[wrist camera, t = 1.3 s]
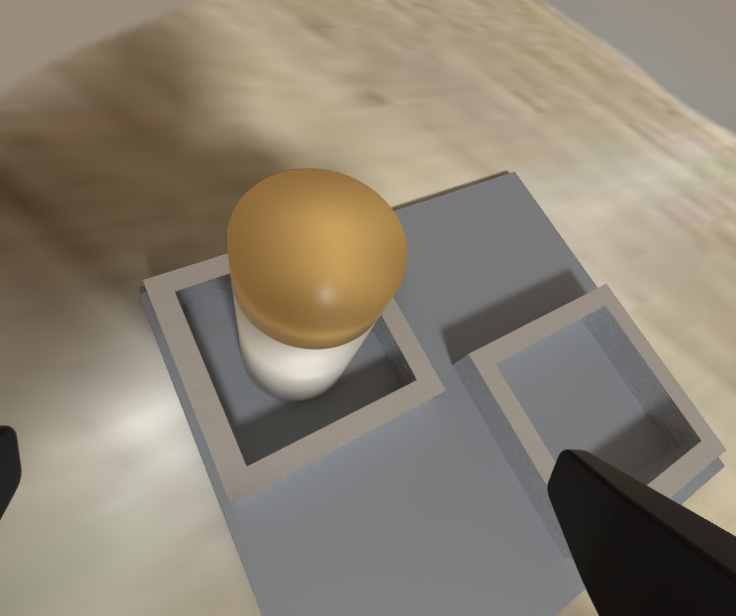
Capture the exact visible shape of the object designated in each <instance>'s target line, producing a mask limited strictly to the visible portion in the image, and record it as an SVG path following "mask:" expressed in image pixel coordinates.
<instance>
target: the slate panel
mask: <svg viewBox="0 0 736 616" xmlns="http://www.w3.org/2000/svg"><path fill="white" fill-rule="evenodd" d="M394 213H395V214H396V216H397V217H398V219H399V221H400V223H401V225H402V228H403V231H404V233H405V237H406V242H407V250H408V258H407V266H406V271H405V275H404V277H403V280H402V282H401V284H400V286H399V288H398V289H397V291H396V293H395V294H394V296H393V298H394V299H395V301H396V303H397V305H398V306H399V308H400V310H401V312H402V314H403V315H404V317H405V319H406V321H407V322H408V324H409V326H410V328H411V329H412V331H413V333H414V335H415V337H416V338H417V340H418V342H419V344H420V345H421V347H422V349H423V351H424V352H425V354H426V356H427V358H428V360H429V361H430V363H431V365H432V367H433V368H434V370H435V372H436V374H437V376H438V377H439V379H440V381H441V383H442V384H443V386H444V388H445V390H446V391H444V392H443V393H441V394H439V395H437V396H436V397H434V398H432V399H430V400H429V401H427V402H425V403H423V404H421V405H419V406H417V407H415V408H414V409H412V410H410V411H408V412H406V413H404V414H402V415H401V416H399V417H397V418H395V419H393V420H391V421H389V422H388V423H386V424H384V425H382V426H380V427H378V428H376V429H374V430H373V431H371V432H369V433H367V434H365V435H363V436H361V437H360V438H358V439H356V440H354V441H352V442H350V443H348V444H346V445H345V446H343V447H341V448H339V449H337V450H335V451H333V452H332V453H330V454H328V455H326V456H324V457H322V458H320V459H318V460H317V461H315V462H313V463H311V464H309V465H307V466H305V467H304V468H302V469H300V470H298V471H296V472H294V473H292V474H290V475H289V476H287V477H285V478H283V479H281V480H279V481H277V482H276V483H274V484H272V485H270V486H268V487H266V488H264V489H263V490H261V491H259V492H257V493H255V494H253V495H251V496H249V497H248V498H246V499H244V500H242V501H240V502H238V503H236V504H235V505H231V504H230V502H229V499H228V496H227V494H226V491H225V489H224V486H223V484H222V481H221V479H220V476H219V473H218V471H217V468H216V466H215V463H214V461H213V458H212V456H211V453H210V450H209V448H208V445H207V443H206V440H205V438H204V435H203V433H202V430H201V428H200V425H199V422H198V420H197V417H196V415H195V412H194V410H193V407H192V405H191V402H190V399H189V397H188V394H187V392H186V389H185V387H184V384H183V382H182V379H181V377H180V374H179V371H178V369H177V366H176V364H175V361H174V359H173V356H172V354H171V351H170V348H169V346H168V343H167V341H166V338H165V336H164V333H163V331H162V328H161V326H160V323H159V320H158V318H157V315H156V313H155V310H154V308H153V305H152V303H151V300H150V297H149V295H148V292H147V291H146V292H143V293H139V297H140V299H141V302H142V304H143V307H144V310H145V312H146V315H147V317H148V320H149V323H150V325H151V328H152V330H153V333H154V336H155V338H156V341H157V343H158V346H159V349H160V351H161V354H162V356H163V359H164V362H165V364H166V367H167V369H168V372H169V375H170V377H171V380H172V382H173V385H174V388H175V390H176V393H177V395H178V398H179V401H180V403H181V406H182V408H183V411H184V414H185V416H186V419H187V421H188V424H189V426H190V429H191V432H192V434H193V437H194V439H195V442H196V445H197V447H198V450H199V452H200V455H201V458H202V460H203V463H204V465H205V468H206V471H207V473H208V476H209V478H210V481H211V484H212V486H213V489H214V491H215V494H216V497H217V499H218V502H219V504H220V507H221V510H222V512H223V515H224V517H225V520H226V523H227V525H228V528H229V530H230V533H231V536H232V538H233V541H234V543H235V546H236V549H237V551H238V554H239V556H240V559H241V561H242V564H243V567H244V569H245V572H246V574H247V577H248V580H249V582H250V585H251V587H252V590H253V593H254V595H255V598H256V600H257V603H258V606H259V608H260V611H261V613H262V616H555V615H556V614H557V613H558V612H559V611H561V610H562V609H563V608H564V607H565V606H566V605H567V604H569V603H570V602H571V601H572V600H573V599H574V598H575V597H577V596H578V595H579V594H580V593H581V592H582V591H583V590H584V589H586V588H585V586H584V584H583V582H582V580H581V577H580V575H579V572H578V570H577V568H576V565H575V563H574V560H572V559H567V558H563V556H562V555H561V553H560V551H559V549H558V548H557V546H556V544H555V542H554V541H553V539H552V537H551V536H550V534H549V532H548V530H547V529H546V527H545V525H544V523H543V522H542V520H541V518H540V517H539V515H538V513H537V511H536V510H535V508H534V506H533V504H532V503H531V501H530V499H529V498H528V496H527V494H526V492H525V491H524V489H523V487H522V485H521V484H520V482H519V480H518V478H517V477H516V475H515V473H514V472H513V470H512V468H511V466H510V465H509V463H508V461H507V459H506V458H505V456H504V454H503V453H502V451H501V449H500V447H499V446H498V444H497V442H496V440H495V439H494V437H493V435H492V434H491V432H490V430H489V428H488V427H487V425H486V423H485V421H484V420H483V418H482V416H481V414H480V413H479V411H478V409H477V408H476V406H475V404H474V402H473V401H472V399H471V397H470V395H469V394H468V392H467V390H466V389H465V387H464V385H463V383H462V382H461V380H460V378H459V376H458V375H457V373H456V371H455V370H454V368H453V366H452V365H453V364H455V363H456V362H458V361H459V360H460V359H462V358H463V357H465V356H466V355H468V354H469V353H471V352H473V351H475V350H477V349H479V348H481V347H483V346H485V345H487V344H489V343H491V342H493V341H495V340H497V339H499V338H501V337H503V336H505V335H507V334H509V333H511V332H513V331H515V330H517V329H519V328H520V327H522V326H524V325H526V324H528V323H530V322H532V321H534V320H536V319H538V318H540V317H542V316H544V315H546V314H548V313H550V312H552V311H554V310H556V309H558V308H560V307H562V306H564V305H566V304H568V303H570V302H572V301H574V300H576V299H578V298H579V297H581V296H583V295H585V294H587V293H589V292H591V291H593V290H595V289H597V286H596V285H595V283H594V282H593V281H592V279H591V278H590V276H589V275H588V274H587V272H586V271H585V269H584V268H583V267H582V265H581V264H580V262H579V261H578V260H577V258H576V257H575V255H574V254H573V253H572V251H571V250H570V248H569V247H568V246H567V244H566V243H565V241H564V240H563V239H562V237H561V236H560V234H559V233H558V232H557V230H556V229H555V227H554V226H553V225H552V223H551V222H550V220H549V219H548V218H547V216H546V215H545V213H544V212H543V211H542V209H541V208H540V206H539V205H538V204H537V202H536V201H535V199H534V198H533V197H532V195H531V194H530V192H529V191H528V190H527V188H526V187H525V185H524V184H523V183H522V181H521V180H520V178H519V177H518V176H517V174H516V173H515V172H512V173H509V174H506V175H503V176H500V177H497V178H493V179H490V180H487V181H484V182H481V183H478V184H475V185H472V186H469V187H466V188H463V189H460V190H457V191H453V192H450V193H447V194H444V195H441V196H438V197H435V198H432V199H429V200H426V201H423V202H420V203H417V204H413V205H410V206H407V207H404V208H401V209H398V210H395V211H394ZM183 313H184V315H185V318H186V320H187V323H188V325H189V327H190V330H191V332H192V335H193V337H194V340H195V342H196V345H197V347H198V349H199V352H200V354H201V357H202V359H203V362H204V364H205V366H206V369H207V371H208V374H209V376H210V379H211V381H212V383H213V386H214V388H215V391H216V393H217V396H218V398H219V400H220V403H221V405H222V408H223V410H224V413H225V415H226V417H227V420H228V422H229V425H230V427H231V430H232V432H233V434H234V437H235V439H236V442H237V444H238V447H239V449H240V451H241V454H242V456H243V459H244V461H245V464H246V466H249V465H251V464H253V463H255V462H257V461H259V460H261V459H263V458H265V457H267V456H269V455H271V454H273V453H275V452H277V451H279V450H281V449H282V448H284V447H286V446H288V445H290V444H292V443H294V442H296V441H298V440H300V439H302V438H304V437H306V436H308V435H310V434H312V433H314V432H316V431H318V430H320V429H322V428H324V427H326V426H328V425H330V424H332V423H334V422H336V421H338V420H340V419H341V418H343V417H345V416H347V415H349V414H351V413H353V412H355V411H357V410H359V409H361V408H363V407H365V406H367V405H369V404H371V403H373V402H375V401H377V400H379V399H381V398H383V397H385V396H387V395H389V394H391V393H393V392H395V391H397V390H399V389H400V388H402V385H401V383H400V381H399V379H398V378H397V376H396V374H395V372H394V370H393V368H392V366H391V365H390V363H389V361H388V359H387V357H386V355H385V353H384V352H383V350H382V348H381V346H380V344H379V342H378V340H377V338H376V337H375V335H374V333H373V331H372V329H371V331H370V332H369V334H368V335H367V337H366V338H365V340H364V341H363V343H362V344H361V346H360V347H359V349H358V351H357V352H356V354H355V355H354V357H353V358H352V360H351V361H350V363H349V364H348V366H347V367H346V369H345V370H344V372H343V373H342V375H341V376H340V378H339V379H338V381H337V382H336V383H335V385H334V386H333V387H332V388H331V389H330V390H328V391H327V392H326V393H324V394H323V395H321V396H319V397H317V398H315V399H312V400H309V401H305V402H298V403H293V402H283V401H279V400H276V399H274V398H271V397H269V396H267V395H266V394H264V393H263V392H261V391H260V390H259V389H258V388H257V387H256V386H255V385H254V384H253V383H252V382H251V380H250V379H249V377H248V375H247V374H246V372H245V369H244V366H243V362H242V356H241V348H240V341H239V334H238V326H237V319H236V312H235V305H234V297H233V292H231V293H228V294H225V295H223V296H220V297H217V298H214V299H211V300H208V301H205V302H203V303H200V304H197V305H194V306H191V307H188V308H185V309H183ZM496 365H497V367H498V369H499V370H500V372H501V374H502V375H503V377H504V379H505V380H506V382H507V384H508V385H509V387H510V388H511V390H512V392H513V393H514V395H515V397H516V398H517V400H518V402H519V403H520V405H521V407H522V408H523V410H524V411H525V413H526V415H527V416H528V418H529V420H530V421H531V423H532V425H533V426H534V428H535V430H536V431H537V433H538V435H539V436H540V438H541V439H542V441H543V443H544V444H545V446H546V448H547V449H548V451H549V453H550V454H551V456H552V458H553V459H554V461H555V462H556V461H557V458H558V456H559V454H560V453H561V452H562V451H563V450H565V449H579V450H585V451H588V452H590V453H591V454H593V455H595V456H597V457H598V458H600V459H602V460H604V461H605V462H607V463H609V464H611V465H612V466H614V467H616V468H618V469H619V470H621V471H623V472H624V473H626V474H628V475H630V474H632V473H633V472H634V471H636V470H637V469H638V468H639V467H641V466H642V465H643V464H645V463H646V462H647V461H648V460H650V459H651V458H652V457H653V456H655V455H656V454H657V453H659V452H660V451H661V450H662V449H664V448H665V447H666V446H668V444H667V443H666V441H665V440H664V438H663V437H662V436H661V434H660V433H659V431H658V430H657V428H656V427H655V425H654V424H653V422H652V421H651V420H650V418H649V417H648V415H647V414H646V412H645V411H644V409H643V408H642V406H641V405H640V404H639V402H638V401H637V399H636V398H635V396H634V395H633V393H632V392H631V390H630V389H629V388H628V386H627V385H626V383H625V382H624V380H623V379H622V377H621V376H620V374H619V373H618V372H617V370H616V369H615V367H614V366H613V364H612V363H611V361H610V360H609V358H608V357H607V356H606V354H605V353H604V351H603V350H602V348H601V347H600V345H599V344H598V342H597V341H596V340H595V338H594V337H593V335H592V334H591V332H590V331H589V329H588V328H587V326H586V325H585V323H584V322H583V321H582V319H580V320H578V321H576V322H574V323H572V324H570V325H568V326H567V327H565V328H563V329H561V330H559V331H557V332H555V333H554V334H552V335H550V336H548V337H546V338H544V339H542V340H540V341H539V342H537V343H535V344H533V345H531V346H529V347H527V348H526V349H524V350H522V351H520V352H518V353H516V354H514V355H512V356H511V357H509V358H507V359H505V360H503V361H501V362H499V363H498V364H496ZM723 467H724V464H723V463H722V461H721V460H720V459H719V457H717V458H716V459H715V460H714V461H713V462H712V463H710V464H709V465H708V466H707V467H706V468H705V469H703V470H702V471H701V472H700V473H699V474H698V475H696V476H695V477H694V478H693V479H692V480H691V481H689V482H688V483H687V484H686V485H685V486H684V487H682V488H681V489H680V490H679V491H678V492H677V493H675V494H674V495H673V496H672V497H671V498H670V499H671V500H673V501H675V502H677V503H678V504H680V505H681V504H682V503H683V502H685V501H686V500H687V499H688V498H689V497H690V496H691V495H693V494H694V493H695V492H696V491H697V490H698V489H699V488H701V487H702V486H703V485H704V484H705V483H706V482H707V481H709V480H710V479H711V478H712V477H713V476H714V475H715V474H716V473H718V472H719V471H720V470H721V469H722V468H723Z"/></svg>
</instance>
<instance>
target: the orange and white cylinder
mask: <svg viewBox="0 0 736 616" xmlns="http://www.w3.org/2000/svg"><path fill="white" fill-rule="evenodd" d="M226 243H227V254H228V261H229V268H230V276H231V283H232V290H233V297H234V305H235V312H236V319H237V326H238V334H239V341H240V348H241V356H242V362H243V366H244V369H245V372H246V374H247V375H248V377H249V379H250V380H251V382H252V383H253V384H254V385H255V386H256V387H257V388H258V389H259V390H260V391H261V392H263V393H264V394H266V395H267V396H269V397H271V398H274V399H276V400H279V401H283V402H293V403H298V402H305V401H309V400H312V399H315V398H317V397H319V396H321V395H323V394H324V393H326V392H327V391H328V390H330V389H331V388H332V387H333V386H334V385H335V383H336V382H337V381H338V379H339V378H340V376H341V375H342V373H343V372H344V370H345V369H346V367H347V366H348V364H349V363H350V361H351V360H352V358H353V357H354V355H355V354H356V352H357V351H358V349H359V347H360V346H361V344H362V343H363V341H364V340H365V338H366V337H367V335H368V334H369V332H370V331H371V329H372V328H373V326H374V325H375V323H376V322H377V320H378V319H379V317H380V316H381V314H382V312H383V311H384V309H385V308H386V306H387V305H388V303H389V302H390V300H391V299H392V297H393V296H394V294H395V293H396V291H397V289H398V288H399V286H400V284H401V282H402V280H403V277H404V275H405V271H406V266H407V258H408V250H407V242H406V237H405V233H404V231H403V228H402V225H401V223H400V221H399V219H398V217H397V216H396V214H395V213H394V211H393V210H392V208H391V207H390V206H389V205H388V204H387V202H386V201H385V200H384V199H383V198H382V197H381V196H380V195H378V194H377V193H376V192H375V191H374V190H372V189H371V188H370V187H368V186H367V185H365V184H363V183H361V182H360V181H358V180H356V179H354V178H351V177H349V176H347V175H344V174H341V173H338V172H333V171H329V170H322V169H294V170H289V171H284V172H281V173H278V174H275V175H272V176H270V177H268V178H266V179H264V180H262V181H261V182H259V183H257V184H256V185H254V186H253V187H252V188H251V189H250V190H248V191H247V192H246V193H245V194H244V196H243V197H242V198H241V199H240V200H239V202H238V203H237V205H236V206H235V208H234V210H233V212H232V214H231V217H230V220H229V223H228V227H227V235H226Z"/></svg>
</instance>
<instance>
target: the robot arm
mask: <svg viewBox="0 0 736 616" xmlns="http://www.w3.org/2000/svg"><path fill="white" fill-rule="evenodd" d="M21 472H22V471H21V462H20V455H19V448H18V441H17V435H16V432H15V430H14V429H13V428H12V427H10V426H1V425H0V520H1V518H2V516H3V514H4V512H5V510H6V508H7V507H8V505H9V503H10V501H11V499H12V497H13V495H14V494H15V492H16V490H17V488H18V485H19V483H20V479H21ZM547 492H548V496H549V499H550V502H551V504H552V507H553V510H554V512H555V515H556V517H557V520H558V522H559V525H560V527H561V530H562V532H563V535H564V537H565V540H566V542H567V545H568V548H569V550H570V553H571V555H572V558H573V560H574V563H575V565H576V568H577V570H578V572H579V575H580V577H581V580H582V582H583V584H584V586H585V588H586V590H587V592H588V594H589V597H590V599H591V601H592V603H593V605H594V607H595V609H596V611H597V613H598V615H599V616H736V536H734V535H732V534H731V533H729V532H727V531H725V530H724V529H722V528H720V527H718V526H717V525H715V524H713V523H711V522H710V521H708V520H706V519H704V518H703V517H701V516H699V515H698V514H696V513H694V512H692V511H691V510H689V509H687V508H685V507H684V506H682V505H680V504H678V503H677V502H675V501H673V500H671V499H670V498H668V497H666V496H664V495H663V494H661V493H659V492H658V491H656V490H654V489H652V488H651V487H649V486H647V485H645V484H644V483H642V482H640V481H638V480H637V479H635V478H633V477H631V476H630V475H628V474H626V473H624V472H623V471H621V470H619V469H618V468H616V467H614V466H612V465H611V464H609V463H607V462H605V461H604V460H602V459H600V458H598V457H597V456H595V455H593V454H591V453H590V452H588V451H585V450H579V449H565V450H563V451H562V452H561V453H560V454H559V456H558V458H557V461H556V463H555V466H554V468H553V471H552V473H551V476H550V478H549V481H548V485H547Z"/></svg>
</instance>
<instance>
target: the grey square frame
mask: <svg viewBox="0 0 736 616" xmlns="http://www.w3.org/2000/svg"><path fill="white" fill-rule="evenodd" d="M143 282H144V285H145V287H146V290H147V292H148V295H149V297H150V300H151V303H152V305H153V308H154V310H155V313H156V315H157V318H158V320H159V323H160V326H161V328H162V331H163V333H164V336H165V338H166V341H167V343H168V346H169V348H170V351H171V354H172V356H173V359H174V361H175V364H176V366H177V369H178V371H179V374H180V377H181V379H182V382H183V384H184V387H185V389H186V392H187V394H188V397H189V399H190V402H191V405H192V407H193V410H194V412H195V415H196V417H197V420H198V422H199V425H200V428H201V430H202V433H203V435H204V438H205V440H206V443H207V445H208V448H209V450H210V453H211V456H212V458H213V461H214V463H215V466H216V468H217V471H218V473H219V476H220V479H221V481H222V484H223V486H224V489H225V491H226V494H227V496H228V499H229V502H230V504H231V505H235V504H236V503H238V502H240V501H242V500H244V499H246V498H248V497H249V496H251V495H253V494H255V493H257V492H259V491H261V490H263V489H264V488H266V487H268V486H270V485H272V484H274V483H276V482H277V481H279V480H281V479H283V478H285V477H287V476H289V475H290V474H292V473H294V472H296V471H298V470H300V469H302V468H304V467H305V466H307V465H309V464H311V463H313V462H315V461H317V460H318V459H320V458H322V457H324V456H326V455H328V454H330V453H332V452H333V451H335V450H337V449H339V448H341V447H343V446H345V445H346V444H348V443H350V442H352V441H354V440H356V439H358V438H360V437H361V436H363V435H365V434H367V433H369V432H371V431H373V430H374V429H376V428H378V427H380V426H382V425H384V424H386V423H388V422H389V421H391V420H393V419H395V418H397V417H399V416H401V415H402V414H404V413H406V412H408V411H410V410H412V409H414V408H415V407H417V406H419V405H421V404H423V403H425V402H427V401H429V400H430V399H432V398H434V397H436V396H437V395H439V394H441V393H443V392H444V391H446V390H445V388H444V386H443V384H442V383H441V381H440V379H439V377H438V376H437V374H436V372H435V370H434V368H433V367H432V365H431V363H430V361H429V360H428V358H427V356H426V354H425V352H424V351H423V349H422V347H421V345H420V344H419V342H418V340H417V338H416V337H415V335H414V333H413V331H412V329H411V328H410V326H409V324H408V322H407V321H406V319H405V317H404V315H403V314H402V312H401V310H400V308H399V306H398V305H397V303H396V301H395V299H394V298H393V297H392V299H391V300H390V302H389V303H388V305H387V306H386V308H385V309H384V311H383V312H382V314H381V316H380V317H379V319H378V320H377V322H376V323H375V325H374V326H373V328H372V331H373V333H374V335H375V337H376V338H377V340H378V342H379V344H380V346H381V348H382V350H383V352H384V353H385V355H386V357H387V359H388V361H389V363H390V365H391V366H392V368H393V370H394V372H395V374H396V376H397V378H398V379H399V381H400V383H401V385H402V388H400V389H399V390H397V391H395V392H393V393H391V394H389V395H387V396H385V397H383V398H381V399H379V400H377V401H375V402H373V403H371V404H369V405H367V406H365V407H363V408H361V409H359V410H357V411H355V412H353V413H351V414H349V415H347V416H345V417H343V418H341V419H340V420H338V421H336V422H334V423H332V424H330V425H328V426H326V427H324V428H322V429H320V430H318V431H316V432H314V433H312V434H310V435H308V436H306V437H304V438H302V439H300V440H298V441H296V442H294V443H292V444H290V445H288V446H286V447H284V448H282V449H281V450H279V451H277V452H275V453H273V454H271V455H269V456H267V457H265V458H263V459H261V460H259V461H257V462H255V463H253V464H251V465H249V466H246V464H245V461H244V459H243V456H242V454H241V451H240V449H239V447H238V444H237V442H236V439H235V437H234V434H233V432H232V430H231V427H230V425H229V422H228V420H227V417H226V415H225V413H224V410H223V408H222V405H221V403H220V400H219V398H218V396H217V393H216V391H215V388H214V386H213V383H212V381H211V379H210V376H209V374H208V371H207V369H206V366H205V364H204V362H203V359H202V357H201V354H200V352H199V349H198V347H197V345H196V342H195V340H194V337H193V335H192V332H191V330H190V327H189V325H188V323H187V320H186V318H185V315H184V313H183V309H185V308H188V307H191V306H194V305H197V304H200V303H203V302H205V301H208V300H211V299H214V298H217V297H220V296H223V295H225V294H228V293H231V292H233V290H232V283H231V276H230V268H229V261H228V254H224V255H221V256H217V257H214V258H211V259H208V260H205V261H202V262H198V263H195V264H192V265H189V266H186V267H183V268H179V269H176V270H173V271H170V272H167V273H163V274H160V275H157V276H154V277H151V278H148V279H144V280H143Z"/></svg>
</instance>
